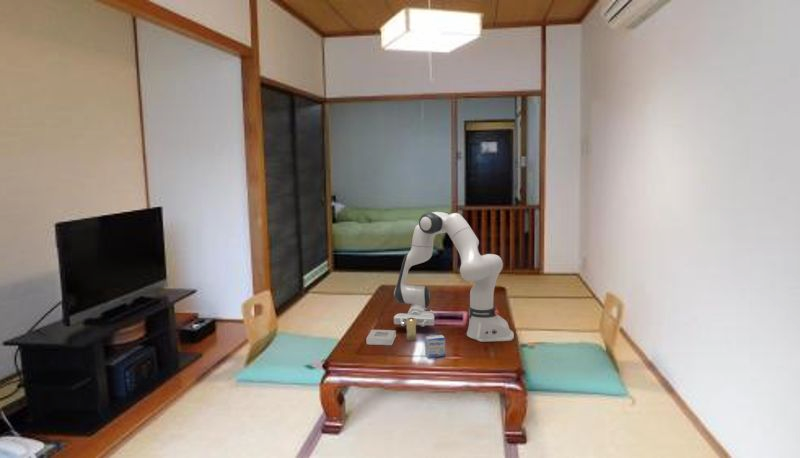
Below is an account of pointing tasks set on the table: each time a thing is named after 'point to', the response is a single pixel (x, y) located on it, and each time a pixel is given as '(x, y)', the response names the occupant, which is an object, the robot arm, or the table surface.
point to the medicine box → (434, 346)
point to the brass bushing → (411, 329)
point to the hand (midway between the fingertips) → (412, 324)
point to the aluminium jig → (381, 337)
